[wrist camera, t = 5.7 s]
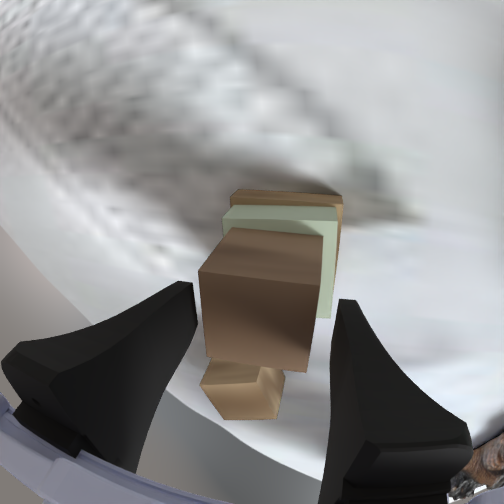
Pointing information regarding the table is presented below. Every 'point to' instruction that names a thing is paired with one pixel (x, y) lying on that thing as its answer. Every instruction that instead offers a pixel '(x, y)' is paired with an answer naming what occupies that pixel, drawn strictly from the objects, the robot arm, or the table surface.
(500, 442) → the bison figurine
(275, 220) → the slab top
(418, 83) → the table surface
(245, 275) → the walnut cube
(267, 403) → the oak cube
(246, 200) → the slab bottom
